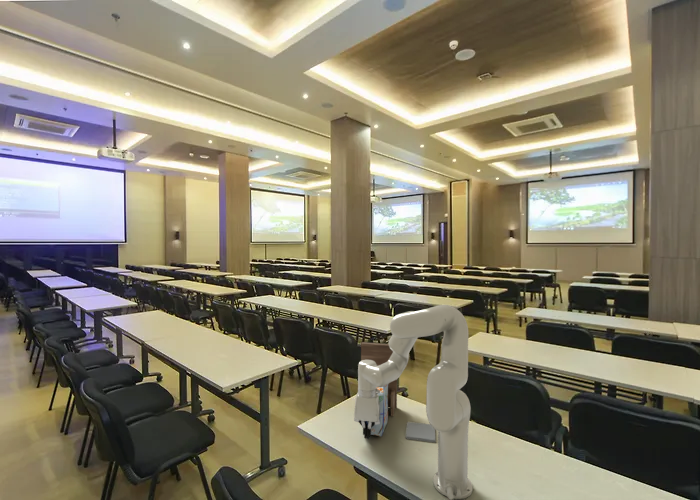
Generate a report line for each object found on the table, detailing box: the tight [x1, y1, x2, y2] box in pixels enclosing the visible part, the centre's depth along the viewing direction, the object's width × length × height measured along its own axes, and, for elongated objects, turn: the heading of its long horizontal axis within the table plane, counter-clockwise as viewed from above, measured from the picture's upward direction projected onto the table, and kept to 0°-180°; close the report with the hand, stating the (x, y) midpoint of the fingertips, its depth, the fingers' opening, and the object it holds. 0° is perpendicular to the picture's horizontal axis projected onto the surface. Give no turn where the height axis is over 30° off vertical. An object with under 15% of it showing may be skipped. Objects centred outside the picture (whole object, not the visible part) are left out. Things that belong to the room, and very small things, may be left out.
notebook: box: [405, 421, 437, 443], centre depth 143 cm, size 12×12×2 cm
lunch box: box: [366, 384, 389, 437], centre depth 149 cm, size 28×10×22 cm, turn 171°
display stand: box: [360, 341, 398, 417], centre depth 163 cm, size 10×18×31 cm, turn 77°
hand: (366, 436), depth 135 cm, fingers closed
